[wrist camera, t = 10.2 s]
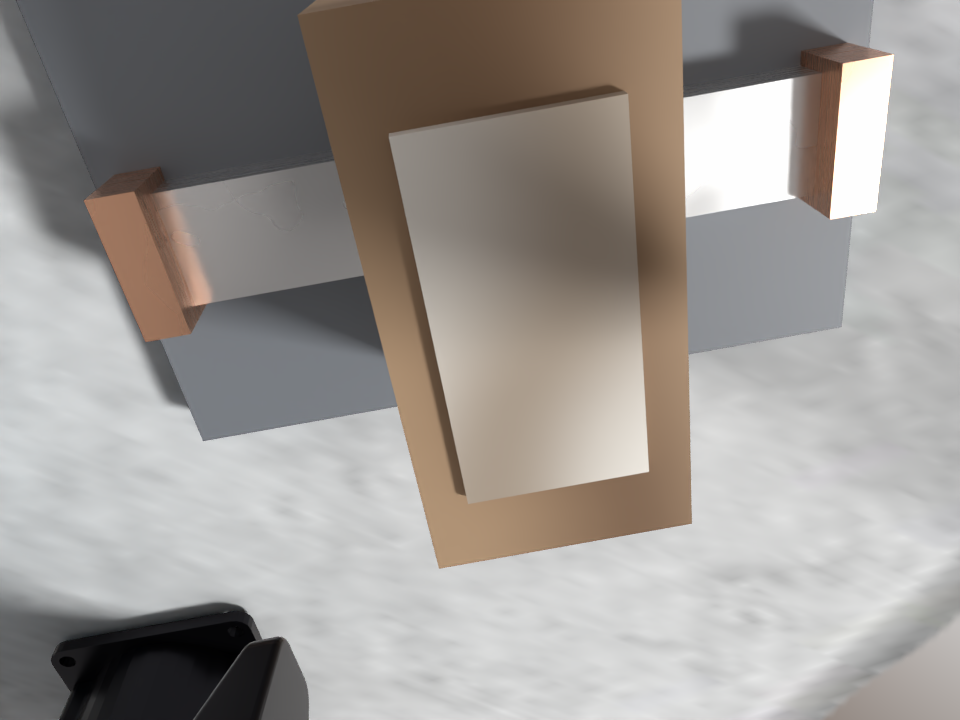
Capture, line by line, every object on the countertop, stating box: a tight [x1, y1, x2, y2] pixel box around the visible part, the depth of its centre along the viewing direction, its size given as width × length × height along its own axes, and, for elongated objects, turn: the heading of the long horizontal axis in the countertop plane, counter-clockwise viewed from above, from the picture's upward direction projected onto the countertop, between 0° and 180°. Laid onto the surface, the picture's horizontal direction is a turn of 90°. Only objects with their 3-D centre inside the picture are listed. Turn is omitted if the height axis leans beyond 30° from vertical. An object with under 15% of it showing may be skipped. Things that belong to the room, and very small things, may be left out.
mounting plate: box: [16, 0, 874, 441], centre depth 18 cm, size 17×11×1 cm, turn 99°
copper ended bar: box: [84, 42, 894, 342], centre depth 16 cm, size 16×3×2 cm, turn 99°
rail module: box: [297, 0, 692, 569], centre depth 14 cm, size 4×9×7 cm, turn 9°
